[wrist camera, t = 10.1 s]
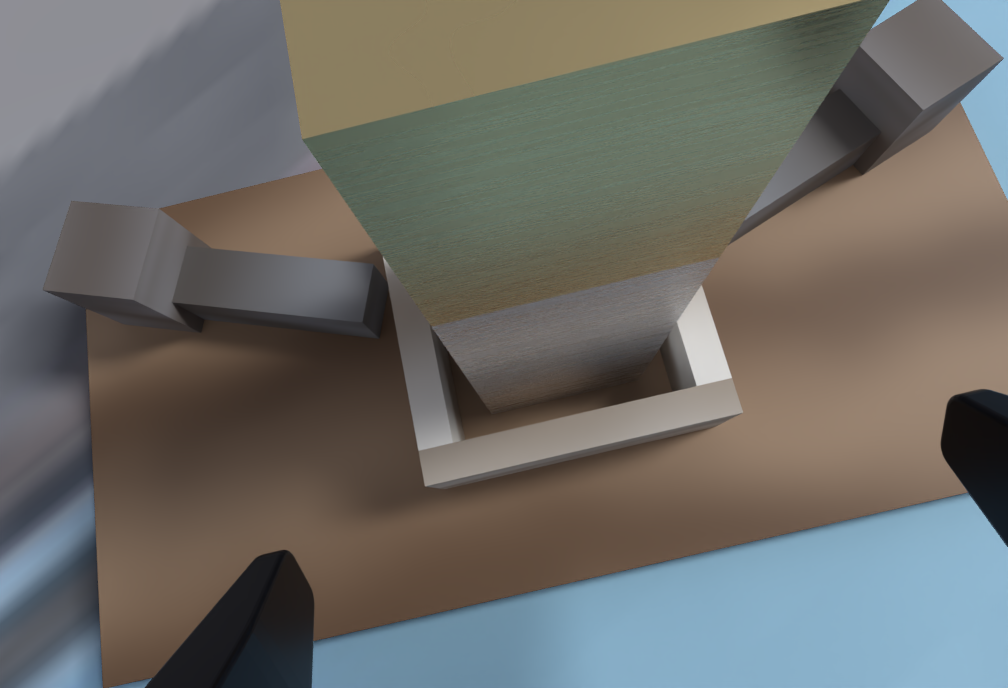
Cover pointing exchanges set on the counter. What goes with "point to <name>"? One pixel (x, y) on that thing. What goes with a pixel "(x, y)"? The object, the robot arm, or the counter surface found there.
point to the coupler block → (559, 159)
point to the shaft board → (546, 426)
